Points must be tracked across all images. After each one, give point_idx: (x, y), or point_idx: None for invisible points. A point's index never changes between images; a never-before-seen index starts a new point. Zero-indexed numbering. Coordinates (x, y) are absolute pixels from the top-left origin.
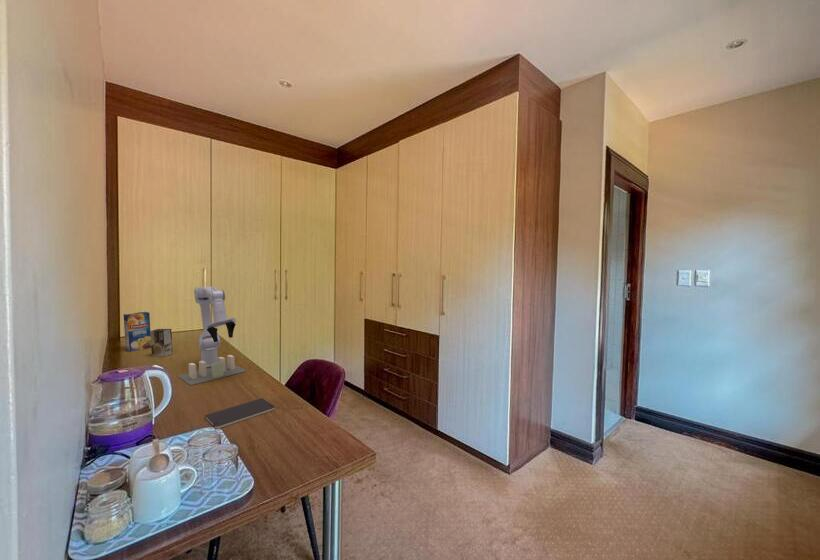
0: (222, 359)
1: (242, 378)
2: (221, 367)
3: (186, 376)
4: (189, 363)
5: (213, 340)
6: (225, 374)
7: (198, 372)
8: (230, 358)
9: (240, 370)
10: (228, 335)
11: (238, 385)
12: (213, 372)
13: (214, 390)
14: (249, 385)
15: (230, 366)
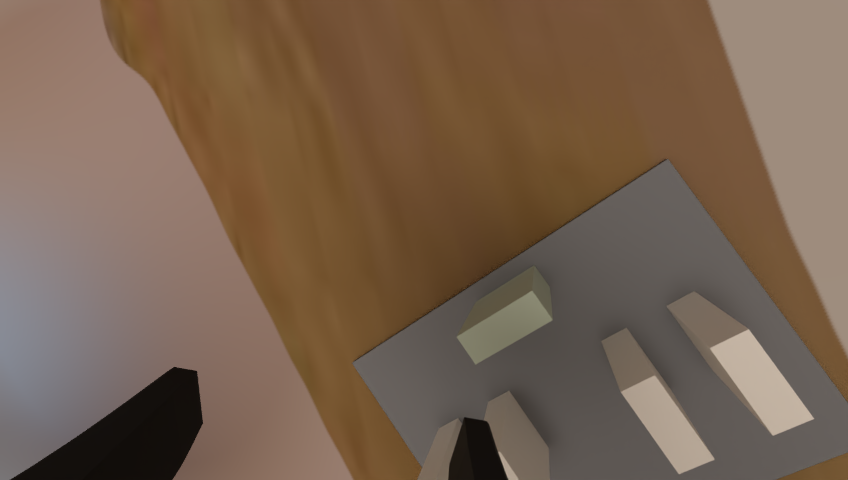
0: None
1: (347, 225)
2: (475, 315)
3: None
4: (802, 417)
5: (493, 440)
6: None
7: None
8: (441, 478)
9: (394, 385)
10: (172, 396)
11: (336, 93)
12: (529, 276)
13: (457, 24)
14: (276, 79)
15: None
